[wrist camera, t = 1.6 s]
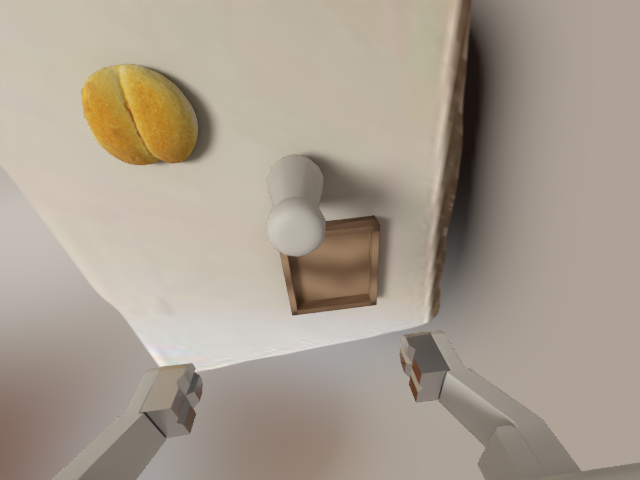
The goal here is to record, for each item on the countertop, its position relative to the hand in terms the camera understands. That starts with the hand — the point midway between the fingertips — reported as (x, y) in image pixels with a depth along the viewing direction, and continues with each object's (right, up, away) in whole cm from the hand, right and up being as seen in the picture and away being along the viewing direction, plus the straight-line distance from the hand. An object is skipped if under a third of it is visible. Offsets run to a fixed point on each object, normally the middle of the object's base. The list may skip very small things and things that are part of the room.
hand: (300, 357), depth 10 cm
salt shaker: (-2, +12, +19) cm, 22 cm away
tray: (+2, +1, +25) cm, 26 cm away
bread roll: (-16, +16, +15) cm, 27 cm away
